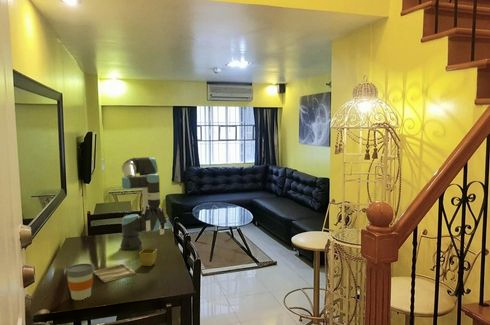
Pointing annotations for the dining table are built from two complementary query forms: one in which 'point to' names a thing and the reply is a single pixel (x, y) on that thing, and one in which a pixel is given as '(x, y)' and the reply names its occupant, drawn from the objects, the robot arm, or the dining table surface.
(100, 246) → the dining table surface
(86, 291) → the reusable coffee cup
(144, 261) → the flower pot
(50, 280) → the dining table surface
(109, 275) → the holder tray
